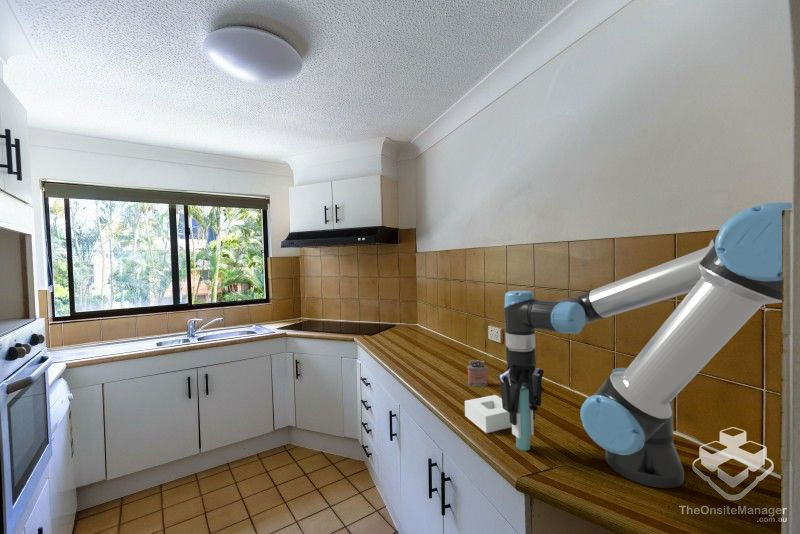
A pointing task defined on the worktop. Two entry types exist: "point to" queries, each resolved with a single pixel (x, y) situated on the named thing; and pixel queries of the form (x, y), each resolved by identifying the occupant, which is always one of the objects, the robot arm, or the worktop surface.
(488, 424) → the socket block
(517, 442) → the peg
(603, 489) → the worktop surface
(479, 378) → the lighter
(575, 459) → the worktop surface
